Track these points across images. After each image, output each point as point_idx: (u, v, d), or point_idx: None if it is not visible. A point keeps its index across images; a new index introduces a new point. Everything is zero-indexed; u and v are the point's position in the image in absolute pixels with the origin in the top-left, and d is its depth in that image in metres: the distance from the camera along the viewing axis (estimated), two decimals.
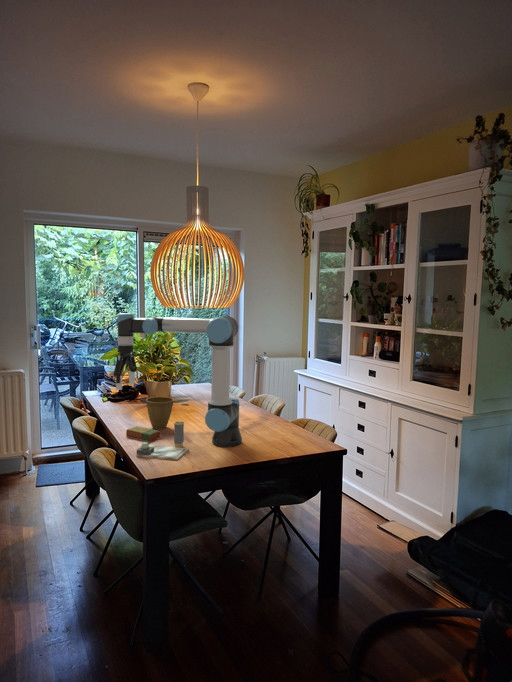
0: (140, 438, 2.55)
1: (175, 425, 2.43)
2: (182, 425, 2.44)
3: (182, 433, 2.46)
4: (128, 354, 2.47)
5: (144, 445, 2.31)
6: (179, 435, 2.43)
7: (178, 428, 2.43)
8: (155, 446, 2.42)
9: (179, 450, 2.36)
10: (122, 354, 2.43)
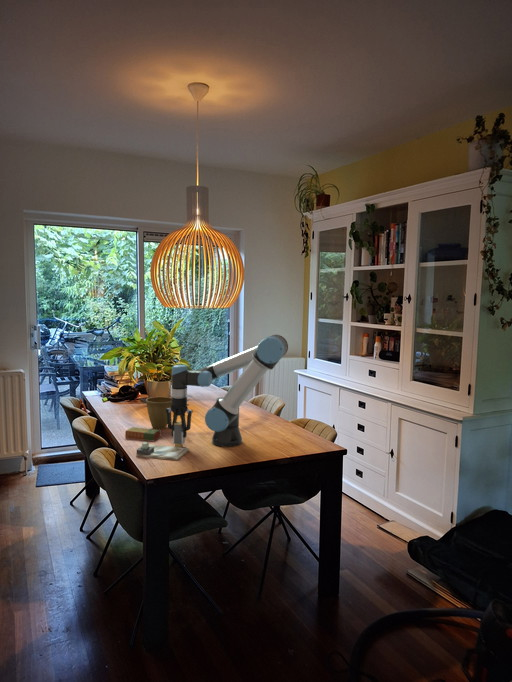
0: (142, 438, 2.55)
1: (175, 425, 2.43)
2: None
3: None
4: (180, 407, 2.43)
5: (144, 445, 2.31)
6: (179, 435, 2.43)
7: (178, 428, 2.43)
8: (155, 446, 2.42)
9: (179, 450, 2.36)
10: None
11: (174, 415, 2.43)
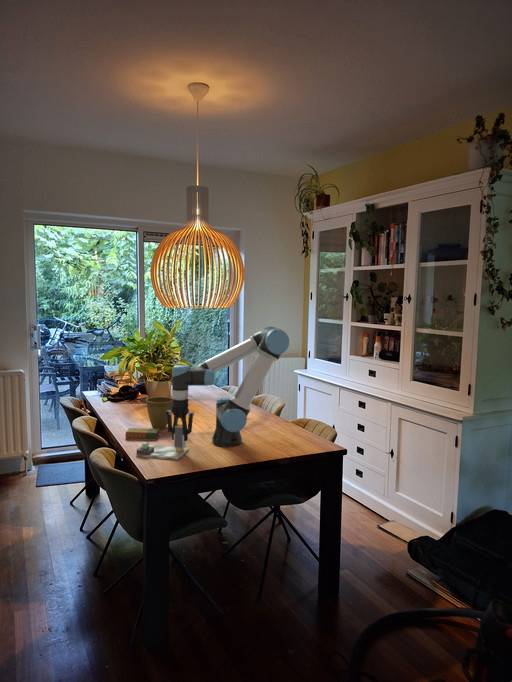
0: (144, 438, 2.55)
1: (176, 428, 2.33)
2: None
3: None
4: (181, 409, 2.32)
5: (144, 445, 2.31)
6: (180, 438, 2.33)
7: (179, 431, 2.33)
8: (155, 446, 2.42)
9: None
10: None
11: (175, 417, 2.33)
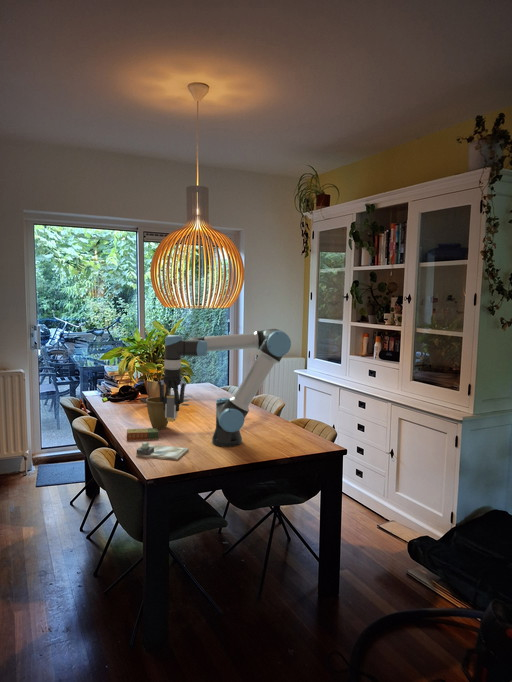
0: (146, 438, 2.56)
1: (168, 398, 2.32)
2: None
3: None
4: (173, 379, 2.32)
5: (144, 445, 2.31)
6: (172, 408, 2.32)
7: (171, 401, 2.32)
8: (155, 446, 2.42)
9: (179, 450, 2.36)
10: None
11: (167, 387, 2.32)
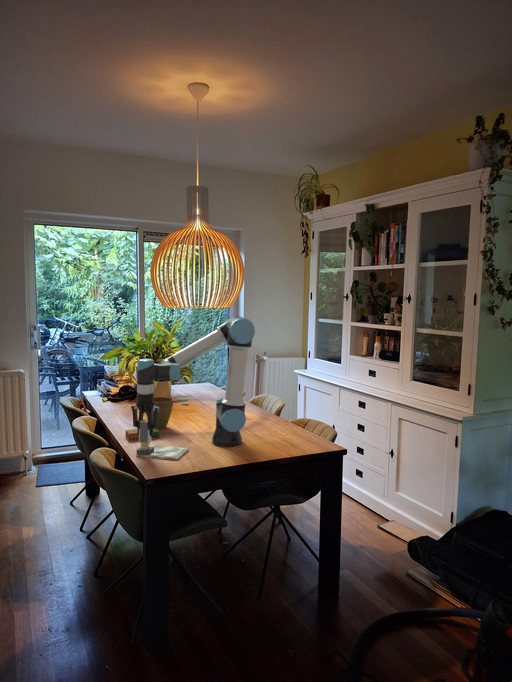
0: None
1: (141, 422, 2.30)
2: None
3: None
4: (146, 403, 2.29)
5: (144, 447, 2.31)
6: (145, 433, 2.30)
7: (144, 426, 2.29)
8: (155, 446, 2.42)
9: (179, 450, 2.36)
10: None
11: (140, 412, 2.29)
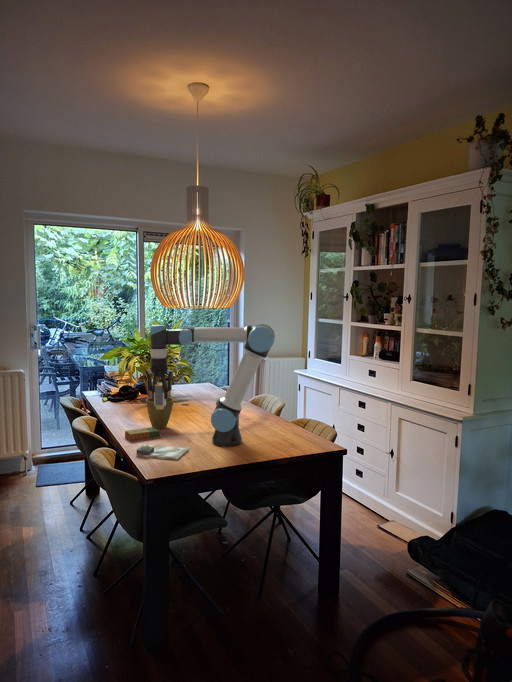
0: (148, 437, 2.56)
1: (156, 386, 2.38)
2: None
3: None
4: (160, 368, 2.37)
5: (144, 447, 2.31)
6: (160, 396, 2.38)
7: (159, 389, 2.38)
8: (155, 446, 2.42)
9: (179, 450, 2.36)
10: None
11: (154, 376, 2.38)
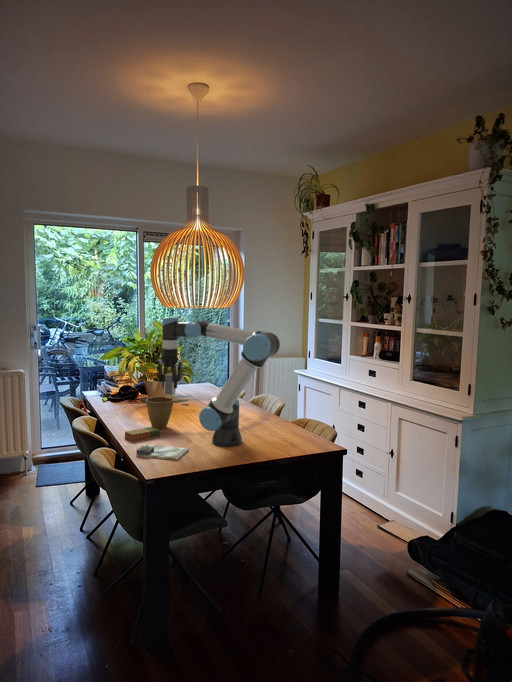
0: (149, 437, 2.57)
1: (166, 376, 2.47)
2: None
3: None
4: (170, 358, 2.46)
5: (144, 447, 2.31)
6: (170, 385, 2.47)
7: (169, 379, 2.47)
8: (155, 446, 2.42)
9: (179, 450, 2.36)
10: None
11: (165, 366, 2.47)
